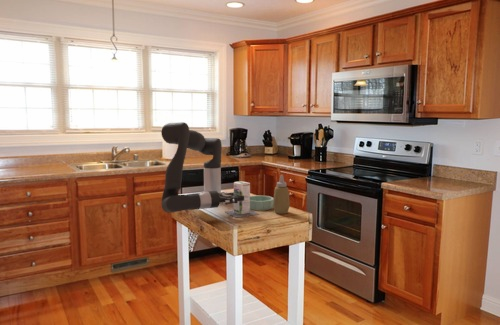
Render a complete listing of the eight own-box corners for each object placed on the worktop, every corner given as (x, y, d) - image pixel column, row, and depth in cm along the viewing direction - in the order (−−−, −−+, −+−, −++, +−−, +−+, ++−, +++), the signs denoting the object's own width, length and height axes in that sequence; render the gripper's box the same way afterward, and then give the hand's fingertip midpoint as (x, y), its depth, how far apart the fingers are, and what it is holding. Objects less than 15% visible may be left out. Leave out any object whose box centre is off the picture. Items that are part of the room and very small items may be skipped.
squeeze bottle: (283, 209, 192) (284, 173, 190) (293, 213, 185) (293, 175, 183) (269, 211, 188) (269, 174, 186) (278, 215, 181) (279, 176, 179)
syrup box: (232, 212, 185) (232, 182, 183) (242, 210, 189) (242, 180, 187) (240, 214, 181) (240, 183, 179) (250, 212, 185) (250, 182, 183)
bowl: (240, 205, 200) (240, 197, 200) (263, 202, 207) (263, 194, 207) (254, 211, 188) (254, 202, 188) (278, 208, 195) (279, 199, 195)
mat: (224, 212, 187) (224, 211, 187) (246, 209, 193) (246, 208, 193) (236, 217, 177) (236, 217, 177) (259, 214, 183) (259, 213, 183)
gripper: (213, 194, 169) (246, 190, 177) (200, 189, 181) (232, 185, 189) (214, 211, 170) (246, 207, 178) (201, 205, 182) (232, 201, 190)
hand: (239, 196), depth 183 cm, fingers open, 8 cm apart
